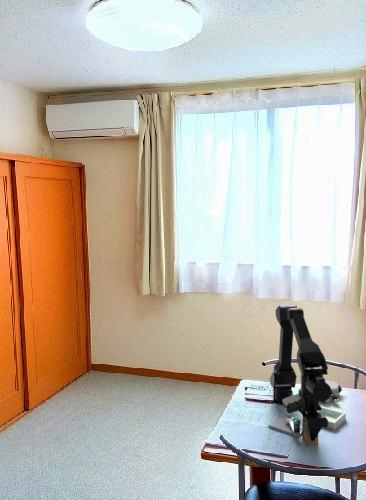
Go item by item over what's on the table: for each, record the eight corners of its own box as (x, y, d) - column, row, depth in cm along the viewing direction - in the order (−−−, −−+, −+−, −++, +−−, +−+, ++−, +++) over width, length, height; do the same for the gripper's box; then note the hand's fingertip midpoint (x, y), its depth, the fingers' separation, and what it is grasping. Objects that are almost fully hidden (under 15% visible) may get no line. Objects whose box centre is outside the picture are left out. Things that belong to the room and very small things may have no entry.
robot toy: (340, 409, 172) (342, 391, 186) (340, 398, 172) (342, 380, 185) (306, 404, 177) (311, 387, 191) (306, 393, 176) (311, 377, 190)
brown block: (302, 439, 149) (302, 418, 149) (314, 439, 149) (314, 418, 148) (305, 445, 145) (305, 424, 145) (318, 445, 145) (318, 423, 144)
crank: (284, 420, 160) (284, 406, 159) (294, 420, 160) (294, 405, 159) (292, 438, 148) (292, 422, 147) (303, 438, 148) (303, 422, 147)
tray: (307, 422, 161) (307, 415, 160) (319, 412, 168) (319, 405, 168) (334, 430, 154) (334, 423, 154) (345, 419, 162) (345, 413, 161)
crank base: (268, 427, 158) (268, 424, 158) (284, 415, 166) (284, 413, 166) (297, 437, 150) (297, 434, 150) (313, 424, 159) (313, 422, 159)
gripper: (278, 377, 155) (279, 422, 156) (290, 401, 136) (291, 451, 138) (312, 377, 155) (312, 422, 156) (328, 400, 136) (328, 451, 138)
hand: (310, 435), depth 147 cm, fingers open, 6 cm apart
